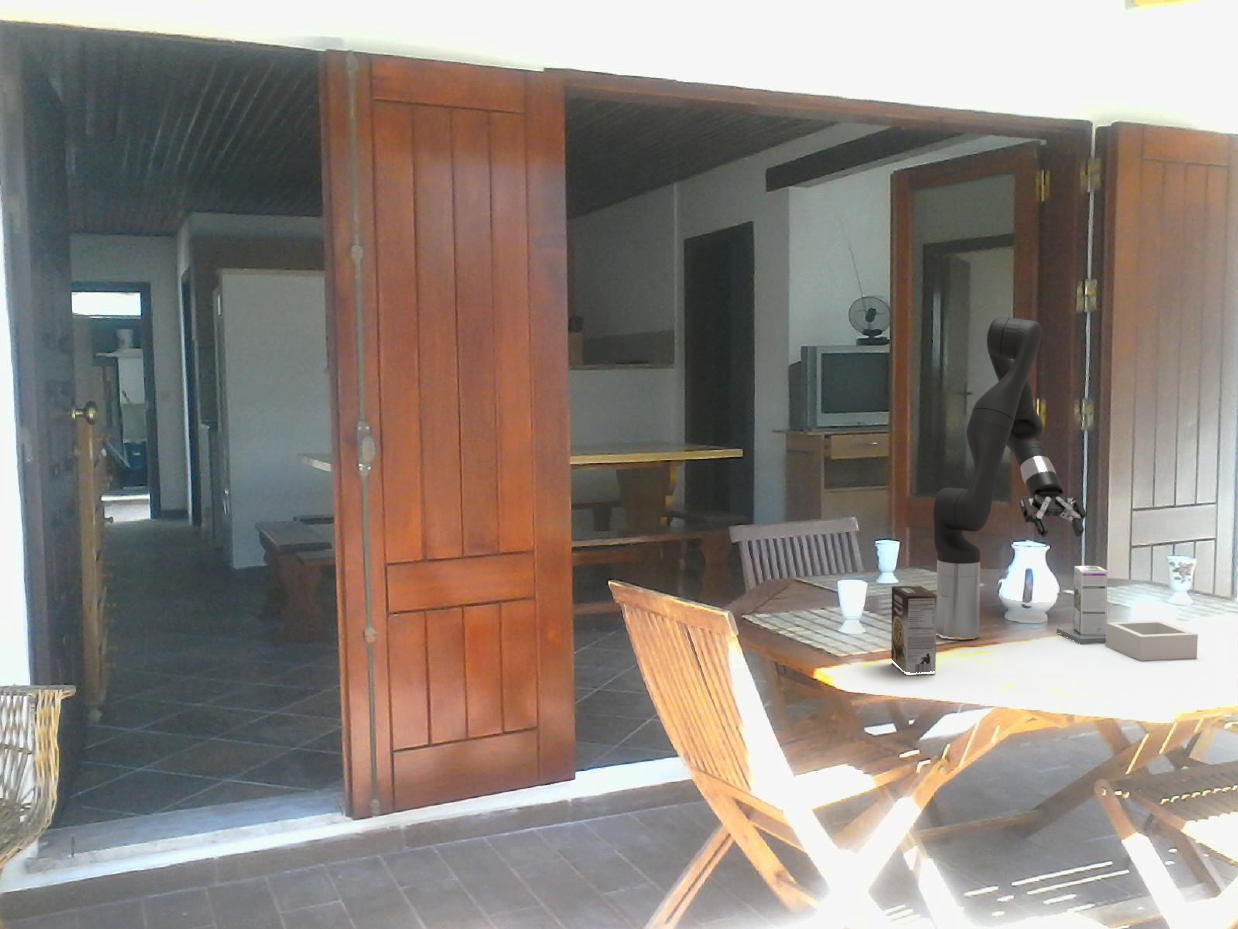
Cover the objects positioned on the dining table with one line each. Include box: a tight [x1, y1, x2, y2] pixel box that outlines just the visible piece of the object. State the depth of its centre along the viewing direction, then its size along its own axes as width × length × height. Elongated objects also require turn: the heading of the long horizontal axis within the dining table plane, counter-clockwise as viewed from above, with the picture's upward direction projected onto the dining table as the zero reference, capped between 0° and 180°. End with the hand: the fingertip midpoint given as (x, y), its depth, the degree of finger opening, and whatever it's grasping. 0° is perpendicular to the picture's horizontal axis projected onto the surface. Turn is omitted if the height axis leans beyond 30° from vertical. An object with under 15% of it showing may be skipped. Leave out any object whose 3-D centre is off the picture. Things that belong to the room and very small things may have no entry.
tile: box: [1056, 626, 1106, 645], centre depth 241 cm, size 10×10×1 cm
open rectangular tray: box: [1105, 620, 1199, 662], centre depth 228 cm, size 12×12×5 cm
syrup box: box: [1073, 565, 1108, 635], centre depth 240 cm, size 6×6×14 cm
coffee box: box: [890, 585, 937, 673], centre depth 217 cm, size 9×6×16 cm
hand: (1062, 534), depth 250 cm, fingers open, 8 cm apart
